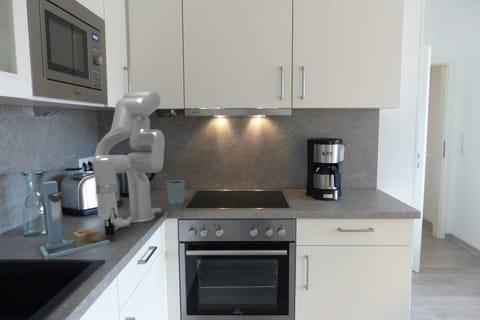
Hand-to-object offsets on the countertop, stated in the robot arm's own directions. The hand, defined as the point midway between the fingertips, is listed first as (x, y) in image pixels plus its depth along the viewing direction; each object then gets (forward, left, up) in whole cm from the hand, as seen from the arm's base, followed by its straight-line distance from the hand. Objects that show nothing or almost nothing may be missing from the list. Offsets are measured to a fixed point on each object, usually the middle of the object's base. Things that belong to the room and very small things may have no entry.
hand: (110, 234), depth 124 cm
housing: (+8, 0, -2) cm, 8 cm away
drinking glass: (-48, -34, -2) cm, 59 cm away
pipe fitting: (-8, -11, -2) cm, 14 cm away
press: (+13, -2, -1) cm, 13 cm away
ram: (+17, 0, +10) cm, 20 cm away
